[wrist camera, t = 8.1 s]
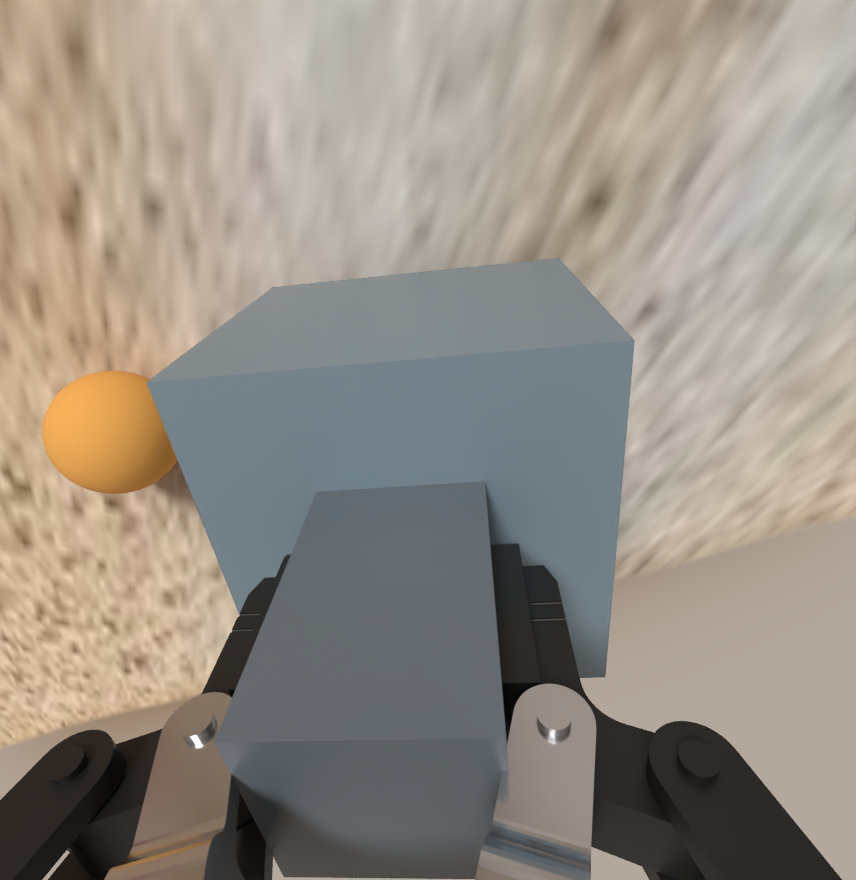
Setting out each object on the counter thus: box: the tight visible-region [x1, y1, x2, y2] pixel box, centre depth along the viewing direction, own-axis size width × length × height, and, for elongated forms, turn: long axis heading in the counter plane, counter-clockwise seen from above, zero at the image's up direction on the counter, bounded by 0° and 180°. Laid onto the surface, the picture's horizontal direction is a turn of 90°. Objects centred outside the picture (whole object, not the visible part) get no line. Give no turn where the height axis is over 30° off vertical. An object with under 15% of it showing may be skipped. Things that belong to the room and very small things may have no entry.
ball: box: [42, 371, 178, 494], centre depth 21 cm, size 5×5×5 cm
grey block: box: [146, 258, 634, 879], centre depth 14 cm, size 10×10×15 cm
